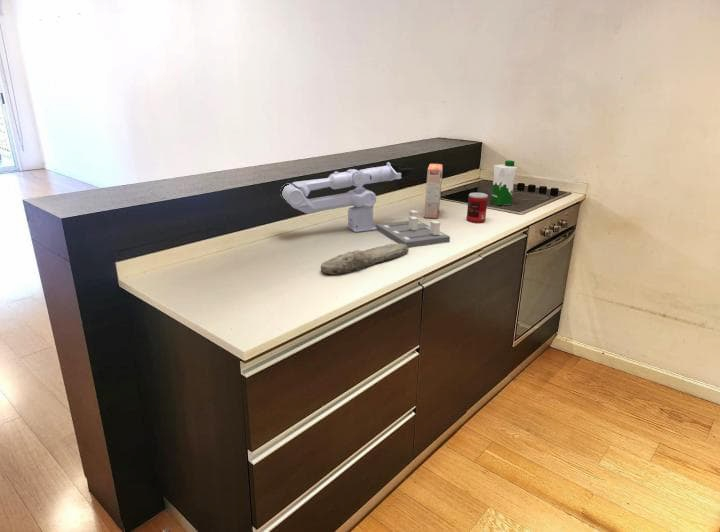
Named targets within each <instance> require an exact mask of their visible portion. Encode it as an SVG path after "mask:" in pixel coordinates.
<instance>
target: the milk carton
mask: <svg viewBox="0 0 720 532" xmlns="http://www.w3.org/2000/svg"><path fill="white" fill-rule="evenodd" d="M517 171H518V166H516V165H515V161H514V160H505V161H504V163H503V164H494V165H493V180H492V191H491V199H490V204H492V203H494V204H497V205H504V204H512V205H513V192H514V186H515V175H516V174H517ZM494 204H493V205H494ZM497 205H496V206H497Z"/></svg>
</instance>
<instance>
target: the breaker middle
mask: <svg viewBox="0 0 720 532" xmlns="http://www.w3.org/2000/svg"><path fill="white" fill-rule="evenodd" d="M408 221H409V229H411V230H417V226H418V221H419V218H418V217H417V218H416V217H414V216H413V217H409V216H408Z"/></svg>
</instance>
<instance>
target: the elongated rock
mask: <svg viewBox="0 0 720 532" xmlns="http://www.w3.org/2000/svg"><path fill="white" fill-rule="evenodd" d="M409 251H410V250H409V248H407V245H406V244H399V243H389V244H384V245H382V246H381V245H380V246H376V247H371V248H368V249H365V250H359V249H358V250H353V251H348V252H346V253H343V254H338V255H337V256H335V257H333V258H330V259H328V260H326V261H324V262H322V263H321V264H320V270H321V272H322V273H323V274H330V275H336V274H337V275H338V274H345V273H346V274H347V273H350V272H353V271H360V270H363V269H364V268H367V267H370V266H374V264H376V263H384V262H385V261H388V260H391V259H393V260H394V259H395V258H400V257H402V256H404V255H406V254H407V253H409Z"/></svg>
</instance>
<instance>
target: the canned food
mask: <svg viewBox="0 0 720 532" xmlns="http://www.w3.org/2000/svg"><path fill="white" fill-rule="evenodd" d="M488 198H489V196H488V194H486V193H484V192H470V193H469V194H468V199H467V201H468V202H467V212H466V221H467V222H470V223H472V224H473V223H474V224H483V223H484V222H485V221H486V218H487V208H488V200H489V199H488Z"/></svg>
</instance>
